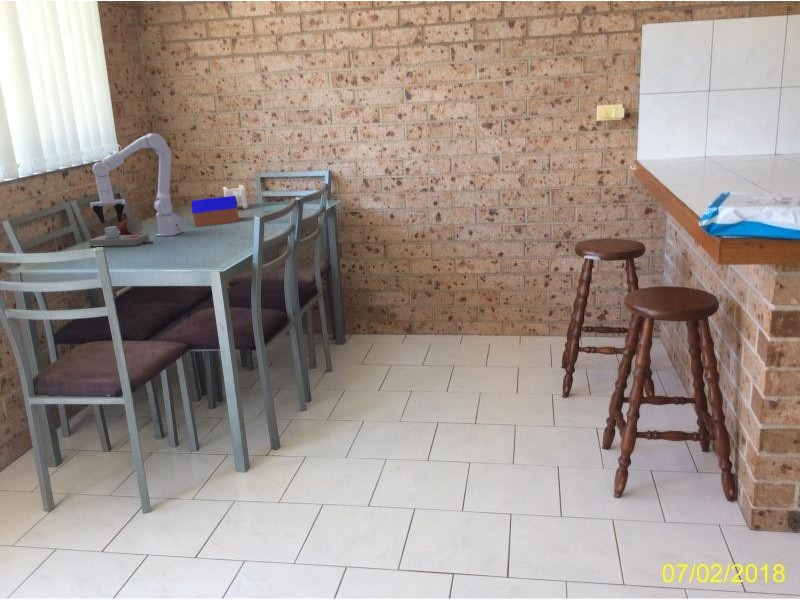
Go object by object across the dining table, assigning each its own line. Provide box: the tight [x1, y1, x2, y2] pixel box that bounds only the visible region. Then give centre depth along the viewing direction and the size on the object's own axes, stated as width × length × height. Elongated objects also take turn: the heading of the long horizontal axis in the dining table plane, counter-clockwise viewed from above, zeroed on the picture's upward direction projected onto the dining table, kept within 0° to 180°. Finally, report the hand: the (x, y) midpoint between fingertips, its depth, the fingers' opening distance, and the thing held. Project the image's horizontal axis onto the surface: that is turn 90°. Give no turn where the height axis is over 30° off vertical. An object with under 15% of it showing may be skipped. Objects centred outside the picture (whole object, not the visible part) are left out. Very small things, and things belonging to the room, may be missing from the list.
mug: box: [118, 217, 144, 235], centre depth 336 cm, size 10×8×10 cm
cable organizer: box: [222, 184, 248, 210], centre depth 384 cm, size 15×11×12 cm
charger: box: [103, 225, 119, 239], centre depth 320 cm, size 4×4×7 cm
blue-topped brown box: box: [191, 196, 240, 228], centre depth 350 cm, size 12×20×12 cm, turn 99°
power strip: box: [88, 233, 154, 248], centre depth 319 cm, size 29×9×4 cm, turn 72°
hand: (111, 222), depth 320 cm, fingers open, 7 cm apart
